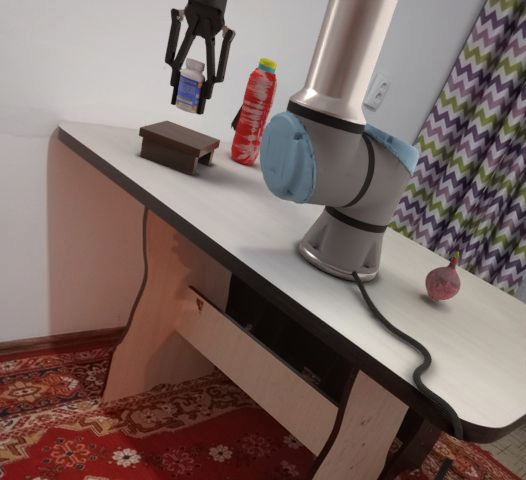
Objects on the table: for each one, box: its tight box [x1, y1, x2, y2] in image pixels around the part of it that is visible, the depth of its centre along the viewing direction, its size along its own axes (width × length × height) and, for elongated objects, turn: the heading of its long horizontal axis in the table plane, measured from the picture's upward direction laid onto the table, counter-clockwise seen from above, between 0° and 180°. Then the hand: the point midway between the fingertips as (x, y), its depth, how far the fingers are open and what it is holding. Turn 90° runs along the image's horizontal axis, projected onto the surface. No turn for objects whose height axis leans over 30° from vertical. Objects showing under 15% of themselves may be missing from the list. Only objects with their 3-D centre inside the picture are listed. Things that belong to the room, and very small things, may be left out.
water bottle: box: [230, 57, 278, 166], centre depth 121 cm, size 12×8×25 cm, turn 39°
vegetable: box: [424, 251, 462, 302], centre depth 82 cm, size 6×6×10 cm
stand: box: [138, 120, 221, 176], centre depth 108 cm, size 16×14×6 cm
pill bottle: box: [175, 57, 206, 115], centre depth 101 cm, size 5×5×10 cm
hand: (187, 108), depth 103 cm, fingers closed on pill bottle, 5 cm apart
